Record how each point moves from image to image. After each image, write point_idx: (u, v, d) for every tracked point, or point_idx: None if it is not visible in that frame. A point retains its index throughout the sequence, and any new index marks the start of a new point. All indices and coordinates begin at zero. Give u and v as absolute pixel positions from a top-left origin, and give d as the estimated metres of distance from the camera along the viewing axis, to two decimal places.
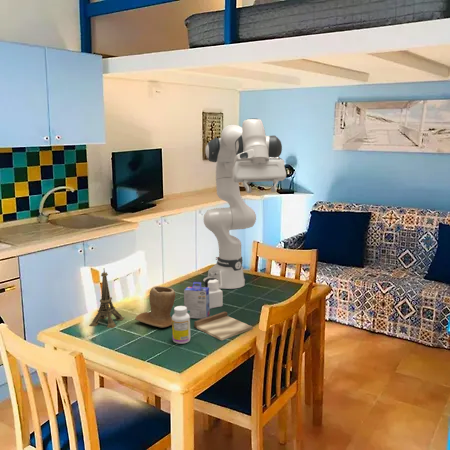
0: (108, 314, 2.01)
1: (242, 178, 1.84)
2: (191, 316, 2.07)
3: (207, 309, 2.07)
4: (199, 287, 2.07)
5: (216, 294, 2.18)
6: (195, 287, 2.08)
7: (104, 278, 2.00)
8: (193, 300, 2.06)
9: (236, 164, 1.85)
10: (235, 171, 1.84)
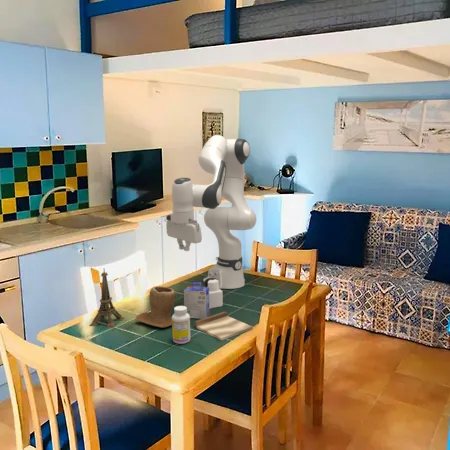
0: (108, 314, 2.01)
1: (170, 236, 2.13)
2: (191, 316, 2.07)
3: (207, 309, 2.07)
4: (199, 287, 2.07)
5: (216, 294, 2.18)
6: (195, 287, 2.08)
7: (104, 278, 2.00)
8: (193, 300, 2.06)
9: (166, 223, 2.13)
10: None
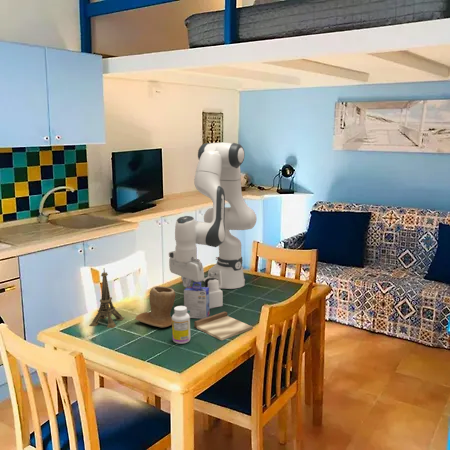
0: (108, 314, 2.01)
1: (173, 272, 2.15)
2: (191, 316, 2.07)
3: (207, 309, 2.07)
4: (199, 287, 2.07)
5: (216, 294, 2.18)
6: (195, 287, 2.08)
7: (104, 278, 2.00)
8: (193, 300, 2.06)
9: (169, 260, 2.15)
10: (169, 265, 2.16)
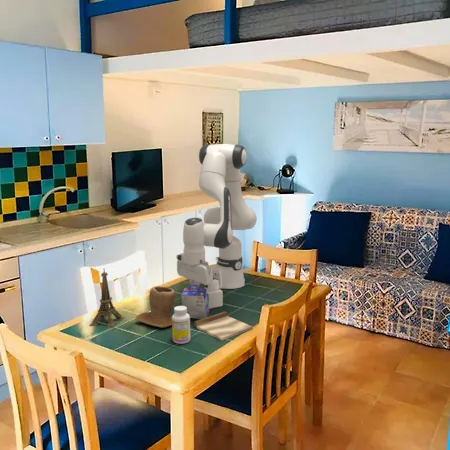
0: (108, 314, 2.01)
1: (181, 275, 2.11)
2: (191, 316, 2.07)
3: (206, 310, 2.05)
4: (196, 290, 2.03)
5: (216, 294, 2.18)
6: (192, 290, 2.03)
7: (104, 278, 2.00)
8: (191, 303, 2.03)
9: (177, 263, 2.11)
10: (177, 268, 2.12)
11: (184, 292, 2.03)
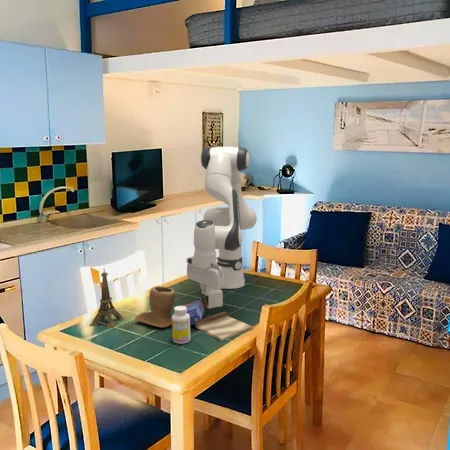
0: (108, 314, 2.01)
1: (191, 279, 2.06)
2: None
3: (202, 310, 2.02)
4: None
5: (216, 294, 2.18)
6: None
7: (104, 278, 2.00)
8: None
9: (187, 266, 2.06)
10: (187, 272, 2.07)
11: None
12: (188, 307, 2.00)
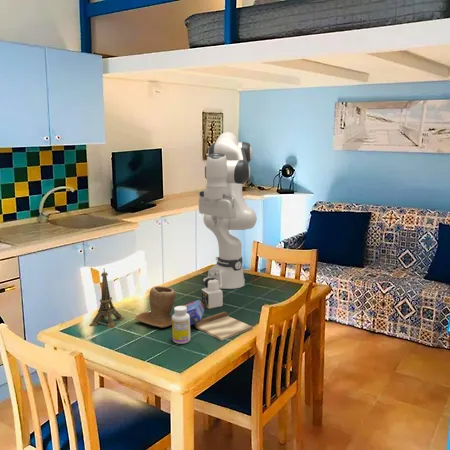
0: (108, 314, 2.01)
1: (203, 213, 2.10)
2: None
3: (202, 310, 2.02)
4: None
5: (216, 294, 2.18)
6: None
7: (104, 278, 2.00)
8: None
9: (199, 200, 2.10)
10: (199, 206, 2.11)
11: None
12: (188, 307, 2.00)
